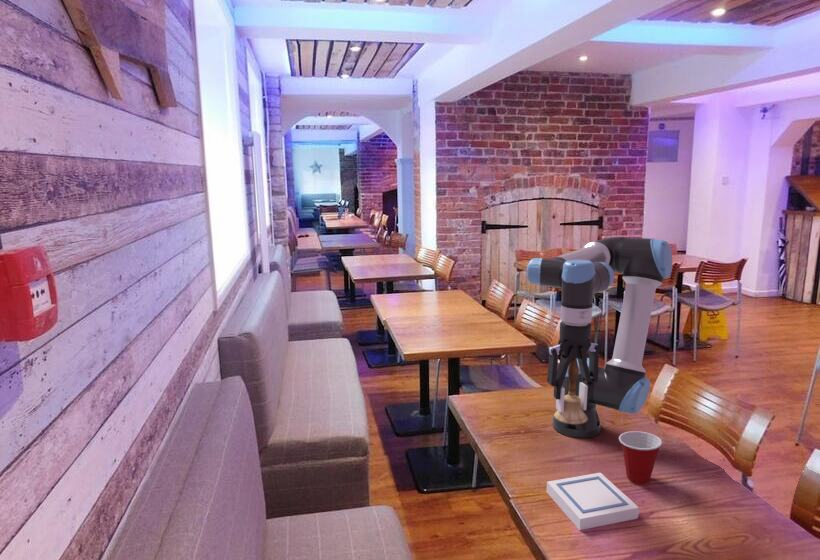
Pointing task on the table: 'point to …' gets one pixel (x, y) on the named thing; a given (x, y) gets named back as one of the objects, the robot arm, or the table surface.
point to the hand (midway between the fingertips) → (570, 408)
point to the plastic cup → (639, 455)
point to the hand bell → (572, 400)
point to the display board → (591, 501)
